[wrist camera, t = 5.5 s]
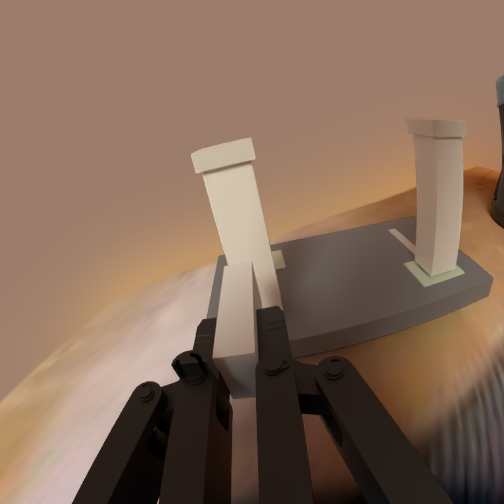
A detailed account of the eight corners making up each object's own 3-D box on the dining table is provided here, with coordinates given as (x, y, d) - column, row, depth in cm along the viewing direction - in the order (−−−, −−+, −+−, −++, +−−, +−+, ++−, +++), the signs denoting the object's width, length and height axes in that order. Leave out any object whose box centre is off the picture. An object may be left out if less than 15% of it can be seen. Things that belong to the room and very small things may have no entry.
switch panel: (413, 229, 32) (414, 215, 31) (488, 295, 18) (493, 276, 17) (223, 269, 34) (218, 255, 33) (208, 370, 20) (199, 353, 19)
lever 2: (438, 251, 22) (438, 118, 16) (459, 269, 19) (465, 121, 13) (410, 259, 22) (405, 118, 17) (429, 279, 19) (431, 120, 14)
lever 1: (282, 288, 23) (250, 137, 18) (288, 315, 20) (251, 139, 15) (241, 296, 24) (200, 149, 18) (241, 323, 20) (190, 154, 15)
